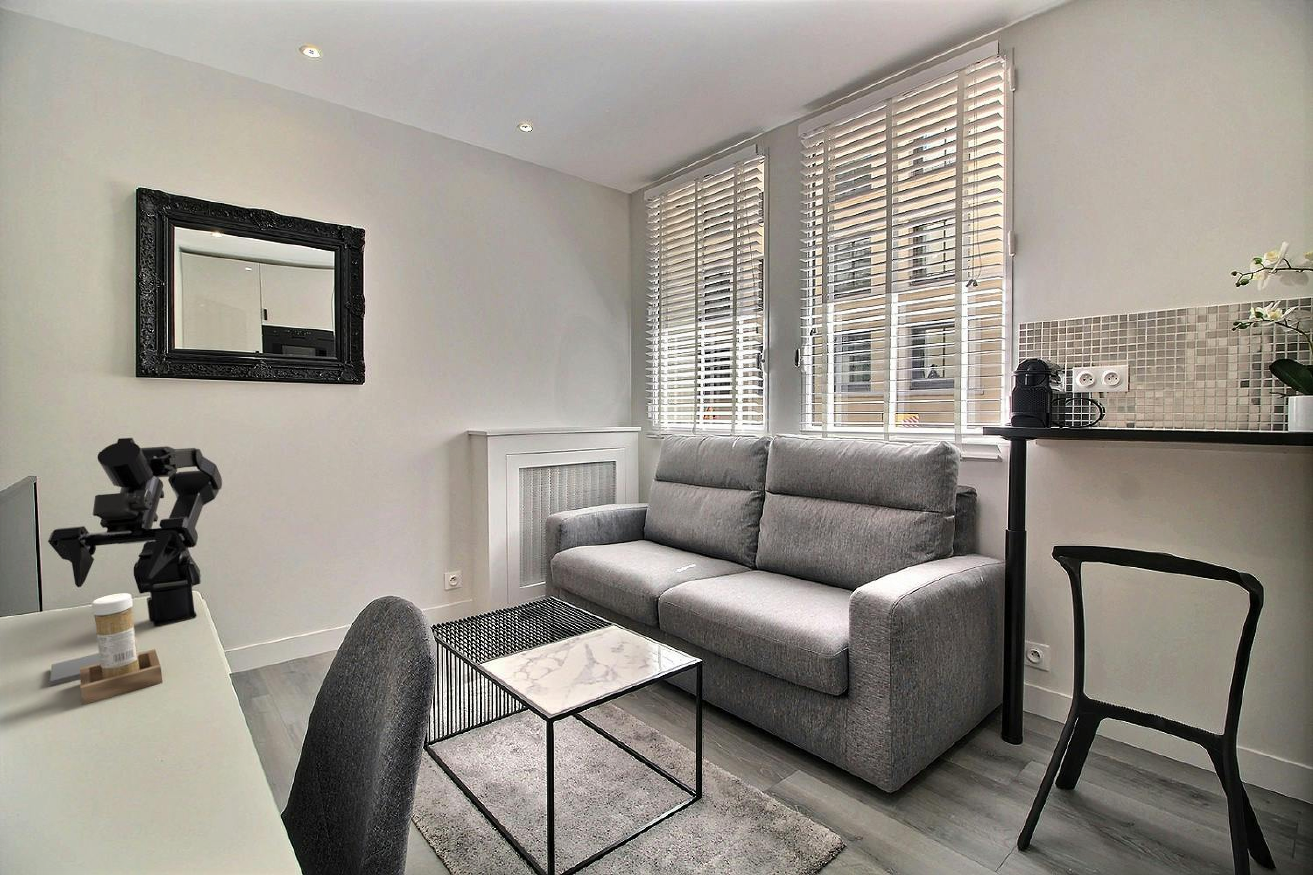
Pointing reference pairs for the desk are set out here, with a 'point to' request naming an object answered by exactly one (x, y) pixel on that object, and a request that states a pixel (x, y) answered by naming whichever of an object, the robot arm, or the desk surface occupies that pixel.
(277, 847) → the desk surface
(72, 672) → the pad
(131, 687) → the collar
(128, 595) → the sprinkles bottle
